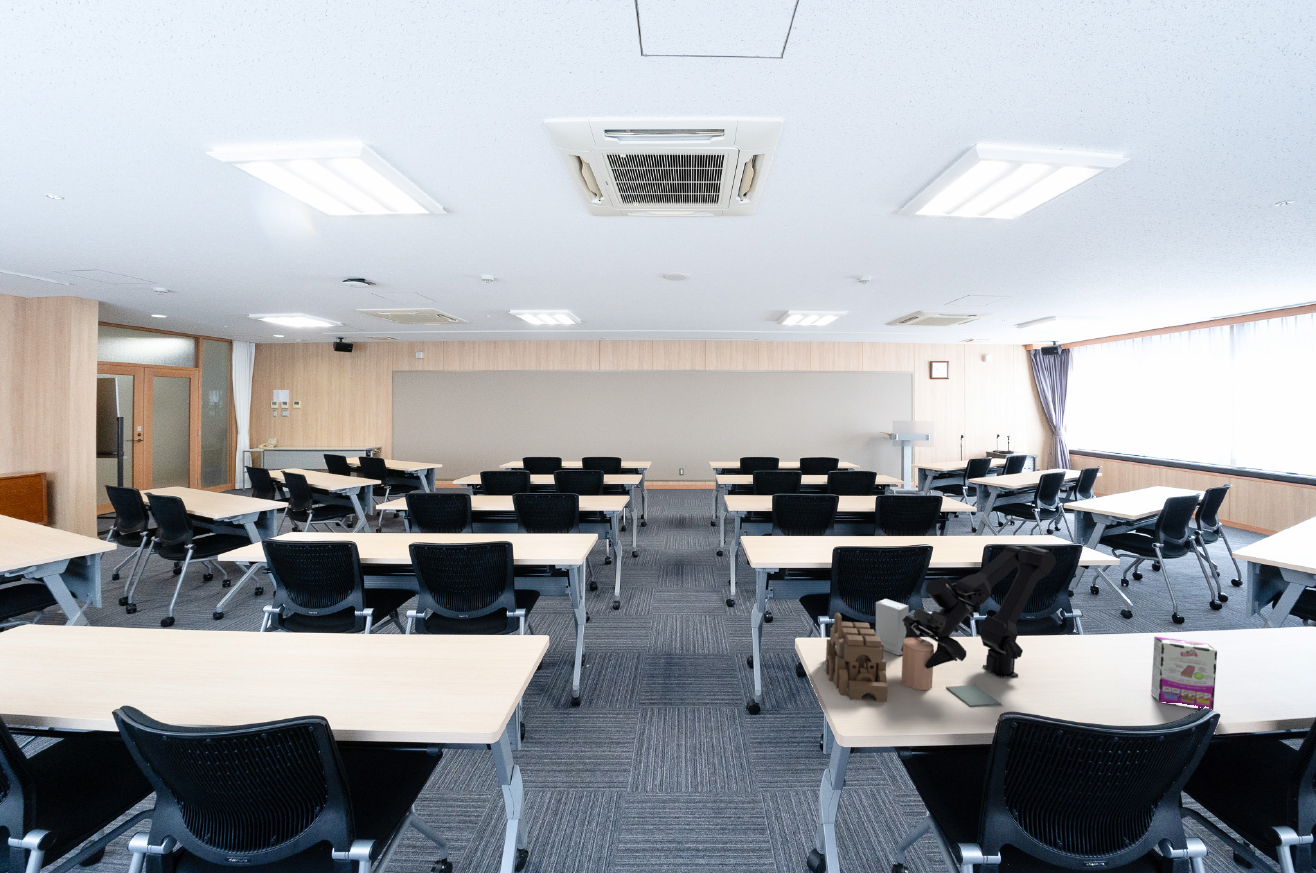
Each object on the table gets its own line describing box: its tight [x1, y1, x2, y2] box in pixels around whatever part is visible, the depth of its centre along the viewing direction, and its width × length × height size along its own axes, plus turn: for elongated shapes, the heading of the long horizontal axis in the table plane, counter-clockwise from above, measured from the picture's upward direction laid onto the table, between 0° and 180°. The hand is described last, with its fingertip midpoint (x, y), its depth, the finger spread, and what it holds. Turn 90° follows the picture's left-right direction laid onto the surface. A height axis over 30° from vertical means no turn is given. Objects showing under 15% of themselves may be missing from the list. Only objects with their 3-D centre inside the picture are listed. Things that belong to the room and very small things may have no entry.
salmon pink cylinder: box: [900, 637, 935, 691], centre depth 146 cm, size 8×8×11 cm
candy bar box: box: [1150, 636, 1218, 711], centre depth 139 cm, size 11×5×16 cm, turn 68°
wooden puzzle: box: [825, 612, 889, 703], centre depth 147 cm, size 22×15×19 cm, turn 176°
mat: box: [945, 684, 1002, 708], centre depth 140 cm, size 9×9×1 cm
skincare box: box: [875, 598, 910, 656], centre depth 166 cm, size 8×6×15 cm
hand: (913, 659), depth 145 cm, fingers open, 9 cm apart
